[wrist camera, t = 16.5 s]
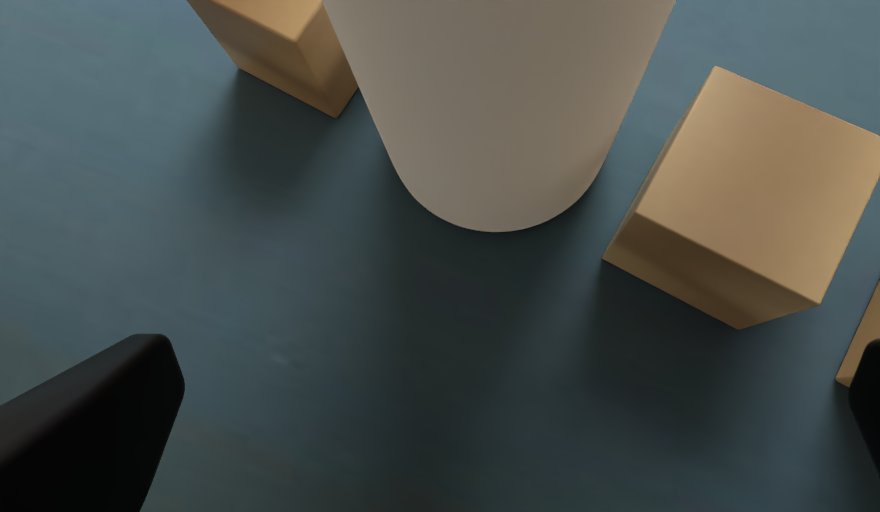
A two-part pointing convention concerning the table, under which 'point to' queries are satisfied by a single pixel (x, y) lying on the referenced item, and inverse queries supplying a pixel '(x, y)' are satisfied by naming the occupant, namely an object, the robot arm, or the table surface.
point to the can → (498, 96)
